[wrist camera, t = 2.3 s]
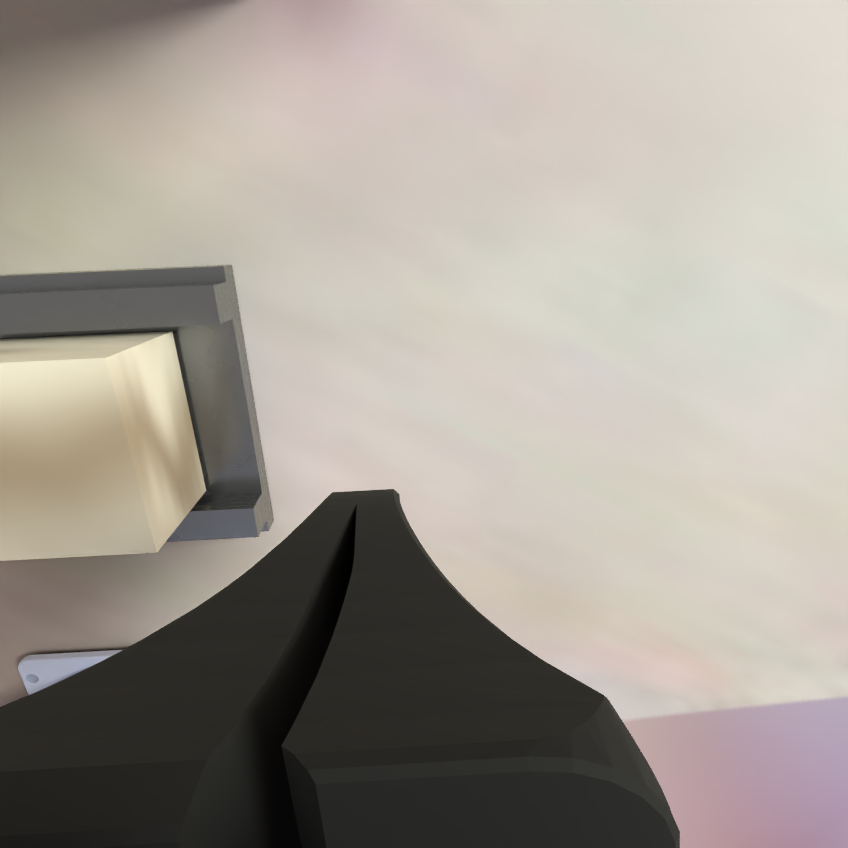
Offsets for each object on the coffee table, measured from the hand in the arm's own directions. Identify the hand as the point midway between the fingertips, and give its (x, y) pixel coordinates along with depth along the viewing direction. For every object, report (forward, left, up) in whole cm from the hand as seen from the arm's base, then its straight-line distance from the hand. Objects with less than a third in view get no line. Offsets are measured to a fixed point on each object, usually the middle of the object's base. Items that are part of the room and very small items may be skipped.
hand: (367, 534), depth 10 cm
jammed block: (0, +10, -8) cm, 13 cm away
